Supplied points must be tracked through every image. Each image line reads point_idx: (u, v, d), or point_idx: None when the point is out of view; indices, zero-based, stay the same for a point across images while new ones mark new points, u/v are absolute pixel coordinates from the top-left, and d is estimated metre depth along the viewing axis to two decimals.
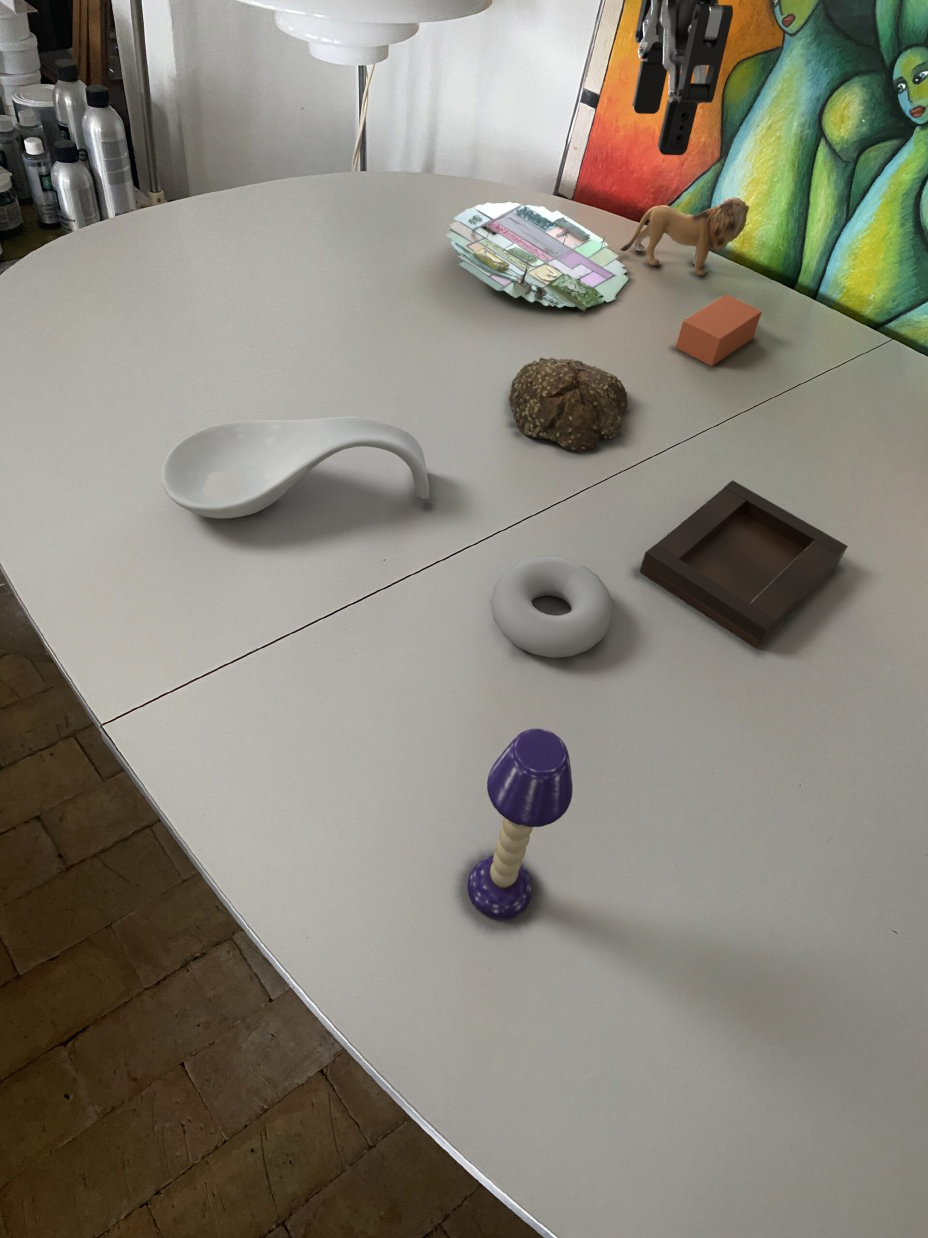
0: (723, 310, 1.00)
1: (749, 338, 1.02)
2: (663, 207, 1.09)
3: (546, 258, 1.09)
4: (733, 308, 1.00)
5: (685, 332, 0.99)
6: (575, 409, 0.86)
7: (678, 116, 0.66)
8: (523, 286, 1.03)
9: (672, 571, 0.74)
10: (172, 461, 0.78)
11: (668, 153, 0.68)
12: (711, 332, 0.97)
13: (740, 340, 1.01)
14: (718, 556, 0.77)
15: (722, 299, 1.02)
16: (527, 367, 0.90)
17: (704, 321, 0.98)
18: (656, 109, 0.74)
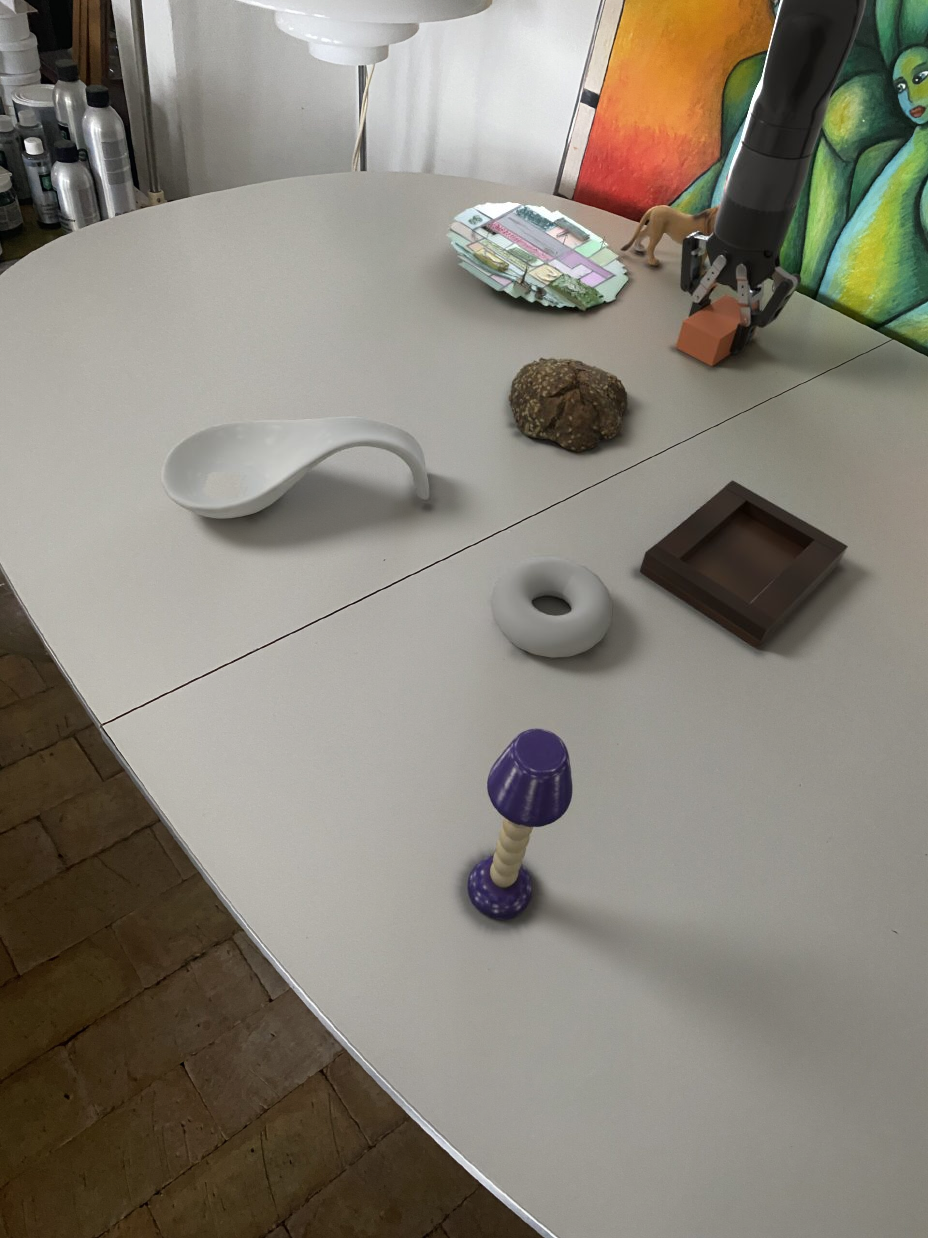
0: (723, 310, 1.00)
1: None
2: (663, 207, 1.09)
3: (546, 258, 1.09)
4: (733, 308, 1.00)
5: (685, 332, 0.99)
6: (575, 409, 0.86)
7: (749, 332, 0.98)
8: (523, 286, 1.03)
9: (672, 571, 0.74)
10: (172, 461, 0.78)
11: (737, 352, 1.00)
12: (711, 333, 0.97)
13: None
14: (718, 556, 0.77)
15: (722, 299, 1.02)
16: (527, 367, 0.90)
17: (704, 321, 0.98)
18: None
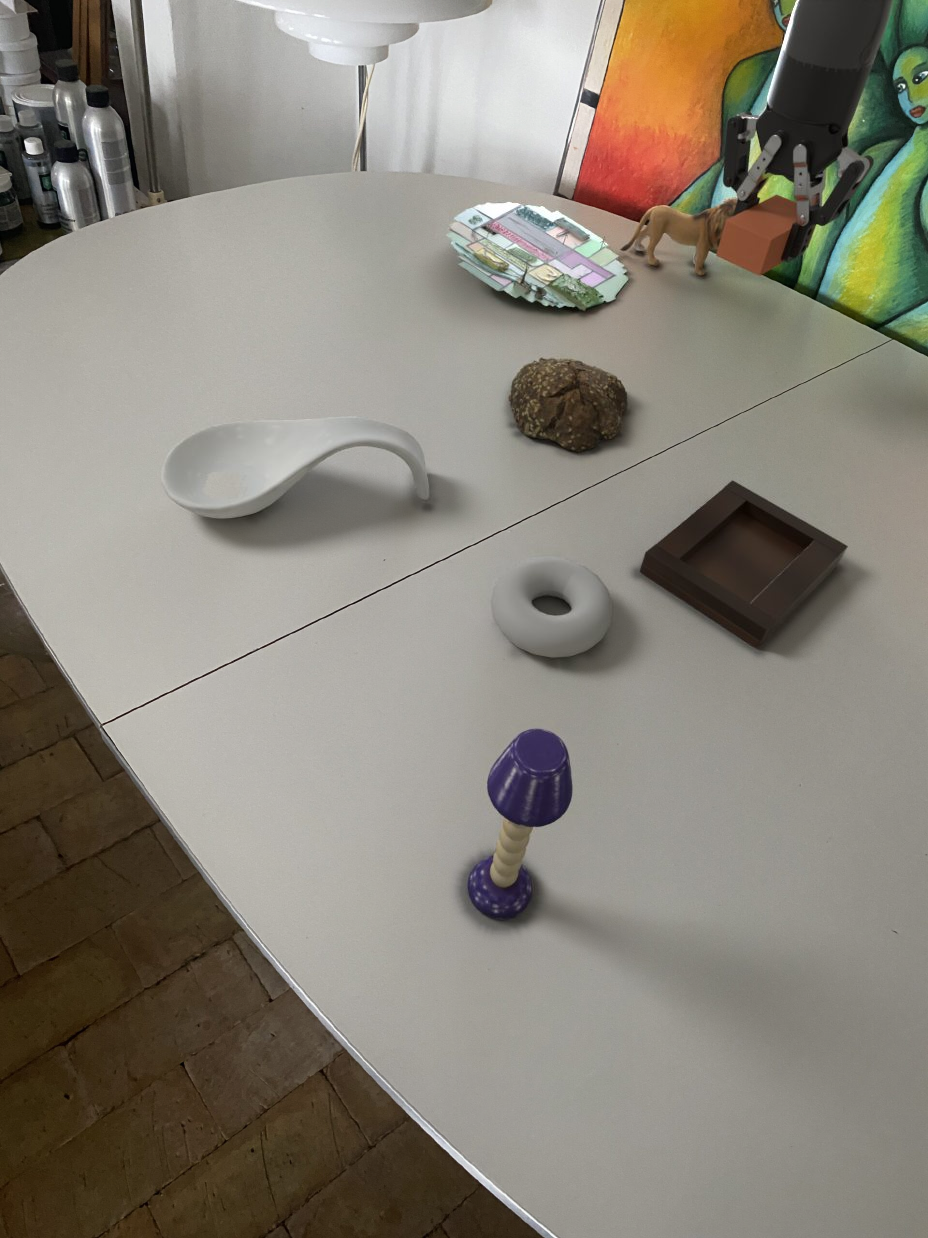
0: (774, 210, 0.84)
1: None
2: (663, 207, 1.09)
3: (546, 258, 1.09)
4: (786, 209, 0.84)
5: (728, 234, 0.82)
6: (575, 409, 0.86)
7: (806, 233, 0.81)
8: (523, 286, 1.03)
9: (672, 571, 0.74)
10: (172, 461, 0.78)
11: (790, 260, 0.84)
12: (761, 233, 0.80)
13: None
14: (718, 556, 0.77)
15: (772, 199, 0.85)
16: (527, 367, 0.90)
17: (751, 220, 0.82)
18: None
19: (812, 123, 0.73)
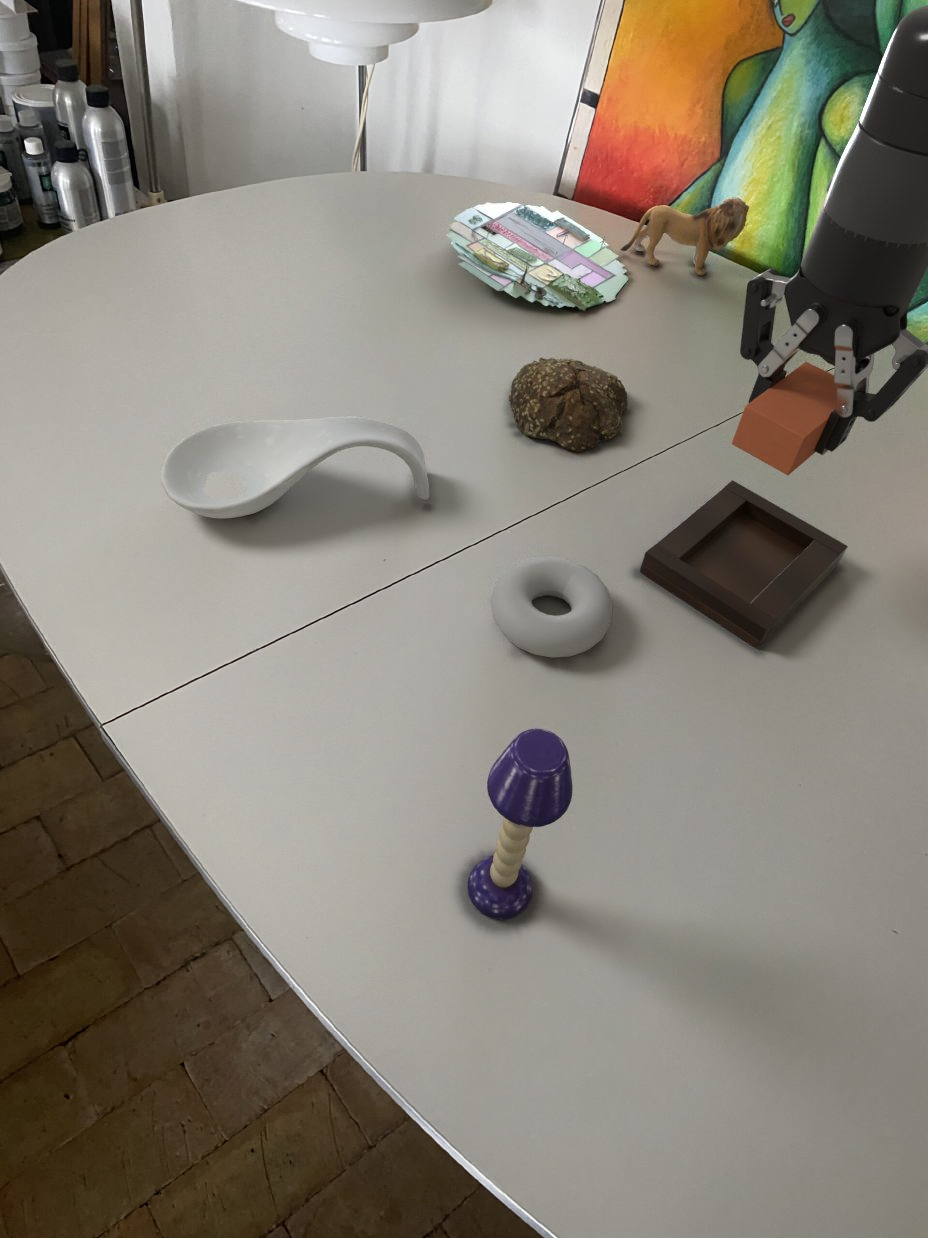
0: (805, 388, 0.66)
1: None
2: (663, 207, 1.09)
3: (546, 258, 1.09)
4: (819, 385, 0.66)
5: (748, 423, 0.64)
6: (575, 409, 0.86)
7: (848, 425, 0.63)
8: (523, 286, 1.03)
9: (672, 571, 0.74)
10: (172, 461, 0.78)
11: (825, 452, 0.66)
12: (791, 427, 0.62)
13: None
14: (718, 556, 0.77)
15: (802, 370, 0.67)
16: (527, 367, 0.90)
17: (778, 406, 0.64)
18: None
19: (863, 306, 0.56)
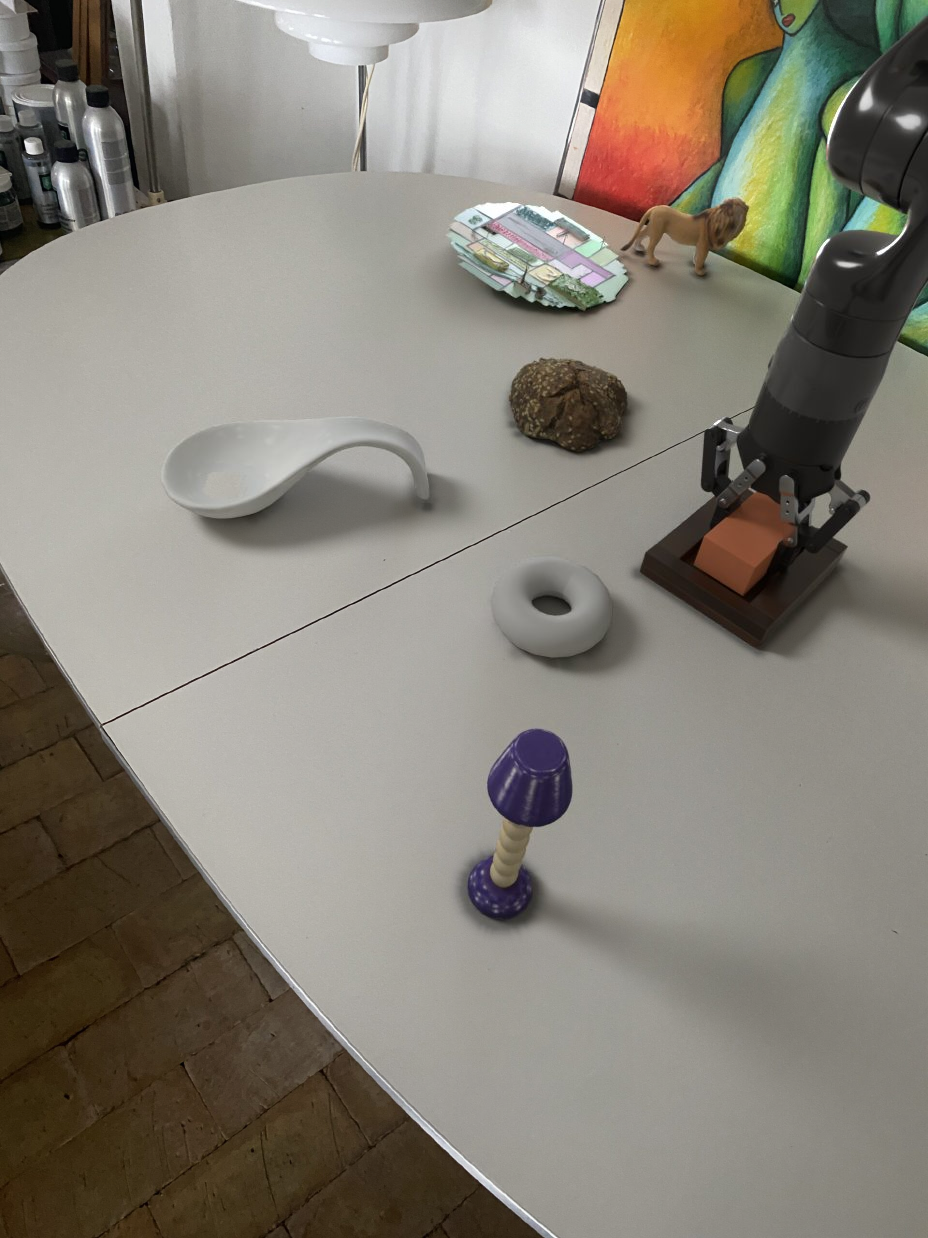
0: (758, 516, 0.74)
1: None
2: (663, 207, 1.09)
3: (546, 258, 1.09)
4: (771, 513, 0.75)
5: (707, 550, 0.73)
6: (575, 409, 0.86)
7: (794, 552, 0.72)
8: (523, 286, 1.03)
9: (672, 571, 0.74)
10: (172, 461, 0.78)
11: None
12: (743, 557, 0.71)
13: None
14: None
15: (756, 497, 0.76)
16: (527, 367, 0.90)
17: (733, 536, 0.73)
18: None
19: (800, 465, 0.64)
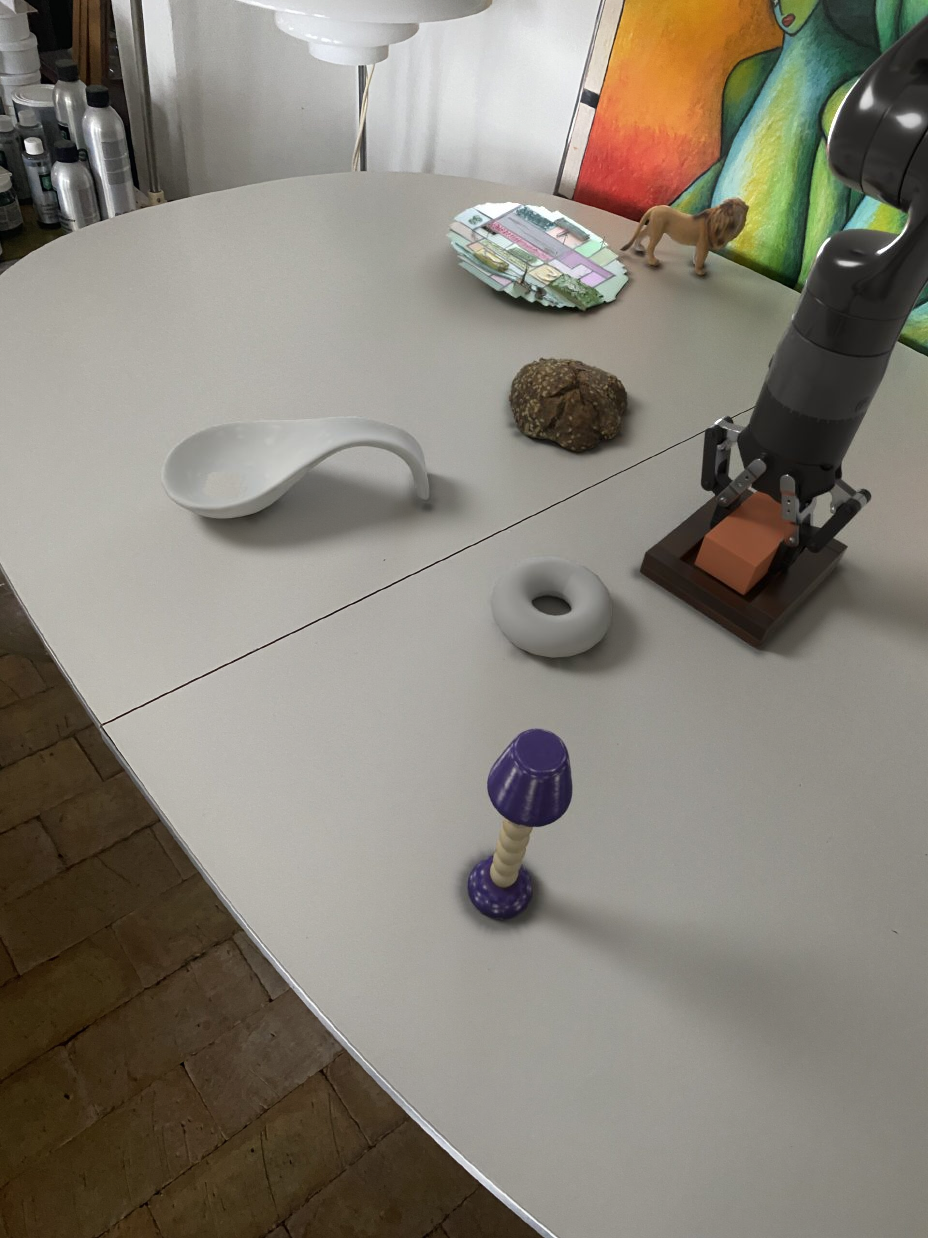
0: (758, 515, 0.74)
1: None
2: (663, 207, 1.09)
3: (546, 258, 1.09)
4: (772, 512, 0.75)
5: (708, 549, 0.73)
6: (575, 409, 0.86)
7: (796, 552, 0.72)
8: (523, 286, 1.03)
9: (672, 571, 0.74)
10: (172, 461, 0.78)
11: None
12: (744, 556, 0.71)
13: None
14: None
15: (757, 496, 0.76)
16: (527, 367, 0.90)
17: (734, 535, 0.73)
18: None
19: (801, 464, 0.64)
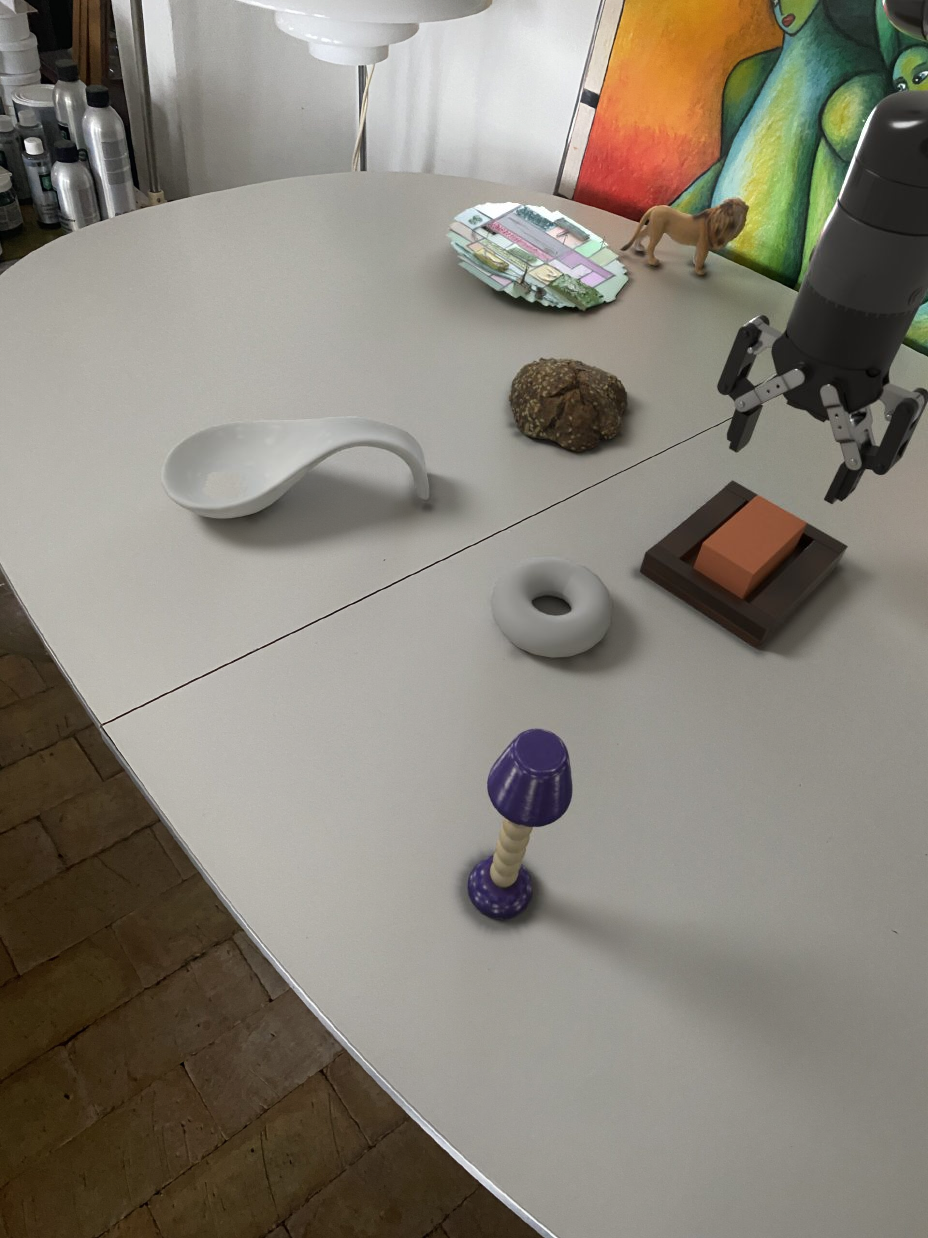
0: (756, 523, 0.75)
1: (789, 554, 0.77)
2: (663, 207, 1.09)
3: (546, 258, 1.09)
4: (769, 520, 0.75)
5: (705, 557, 0.74)
6: (575, 409, 0.86)
7: (857, 476, 0.64)
8: (523, 286, 1.03)
9: (672, 571, 0.74)
10: (172, 461, 0.78)
11: (835, 501, 0.67)
12: (742, 563, 0.72)
13: (779, 561, 0.76)
14: None
15: (754, 504, 0.77)
16: (527, 367, 0.90)
17: (731, 542, 0.73)
18: None
19: (846, 369, 0.58)
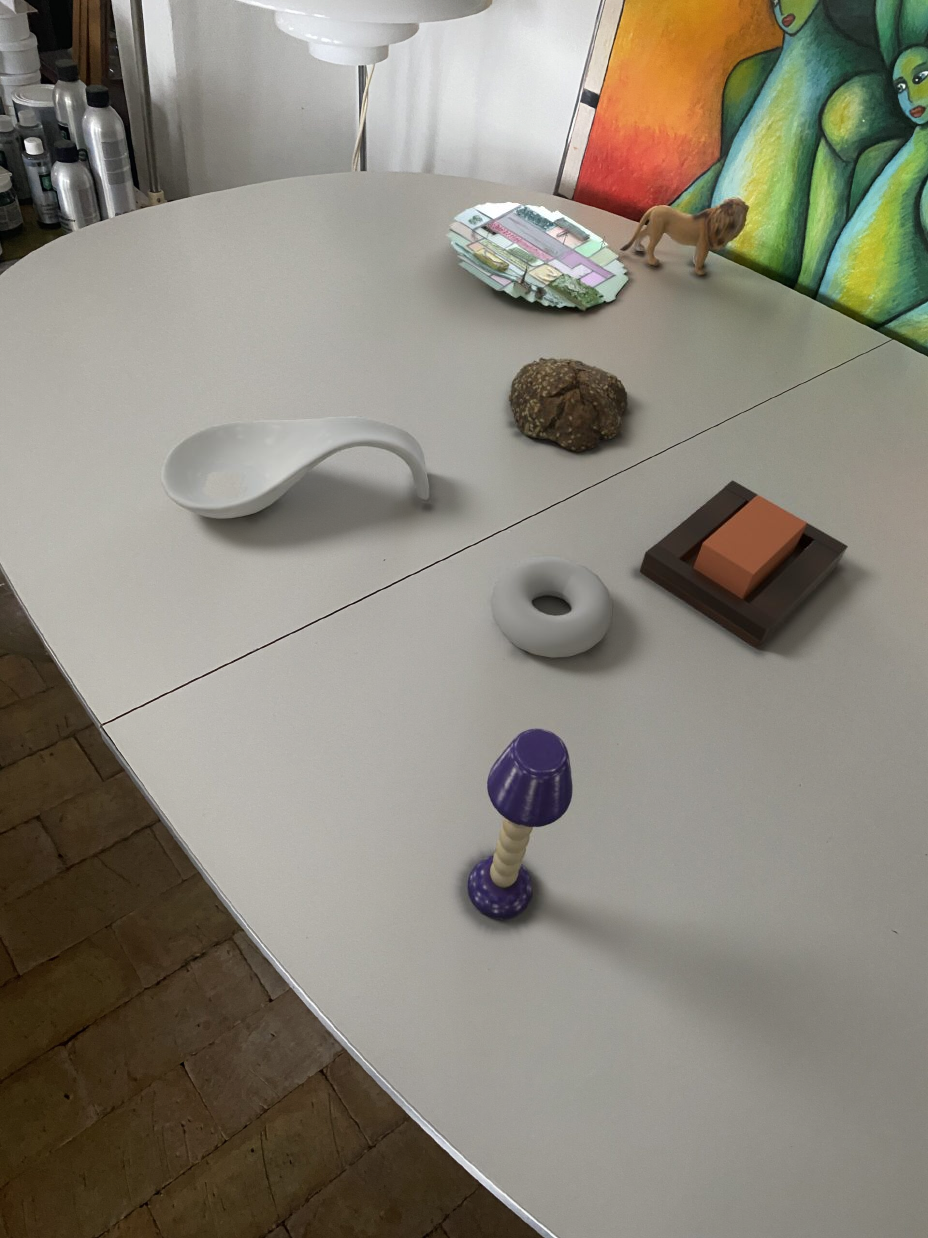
0: (756, 523, 0.75)
1: (789, 554, 0.77)
2: (663, 207, 1.09)
3: (546, 258, 1.09)
4: (769, 520, 0.75)
5: (705, 557, 0.74)
6: (575, 409, 0.86)
7: None
8: (523, 286, 1.03)
9: (672, 571, 0.74)
10: (172, 461, 0.78)
11: None
12: (742, 563, 0.72)
13: (779, 561, 0.76)
14: None
15: (754, 504, 0.77)
16: (527, 367, 0.90)
17: (731, 542, 0.73)
18: None
19: None
